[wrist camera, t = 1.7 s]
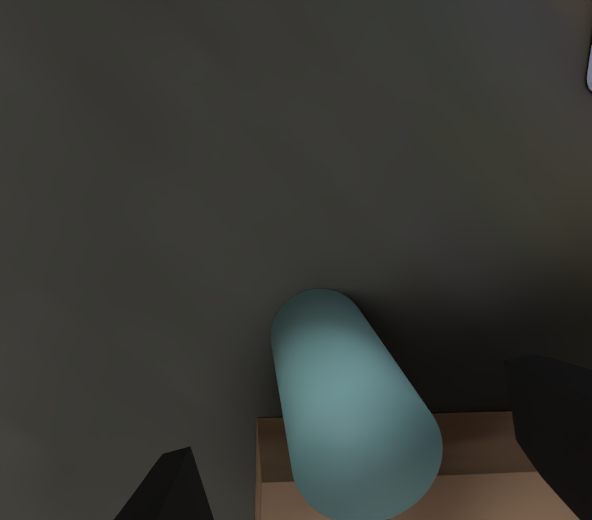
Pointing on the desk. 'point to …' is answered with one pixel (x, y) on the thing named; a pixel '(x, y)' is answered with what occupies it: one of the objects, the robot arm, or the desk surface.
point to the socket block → (447, 485)
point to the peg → (349, 412)
